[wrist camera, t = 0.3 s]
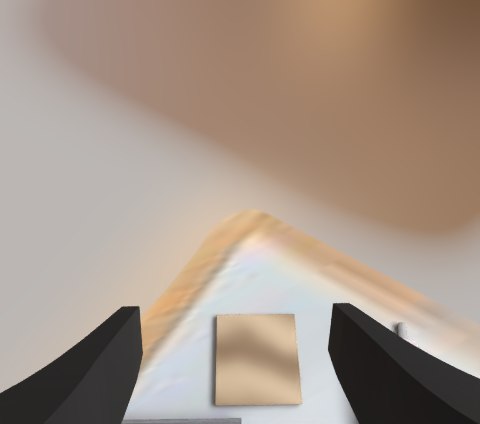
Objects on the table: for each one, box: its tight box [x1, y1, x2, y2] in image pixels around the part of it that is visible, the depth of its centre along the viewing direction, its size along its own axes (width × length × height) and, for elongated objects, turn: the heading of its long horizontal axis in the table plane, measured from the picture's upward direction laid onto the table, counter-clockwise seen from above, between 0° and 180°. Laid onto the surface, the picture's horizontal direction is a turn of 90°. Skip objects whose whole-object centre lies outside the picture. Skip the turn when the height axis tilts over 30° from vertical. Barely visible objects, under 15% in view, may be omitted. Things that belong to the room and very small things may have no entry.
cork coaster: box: [215, 314, 302, 406], centre depth 37 cm, size 10×10×1 cm
